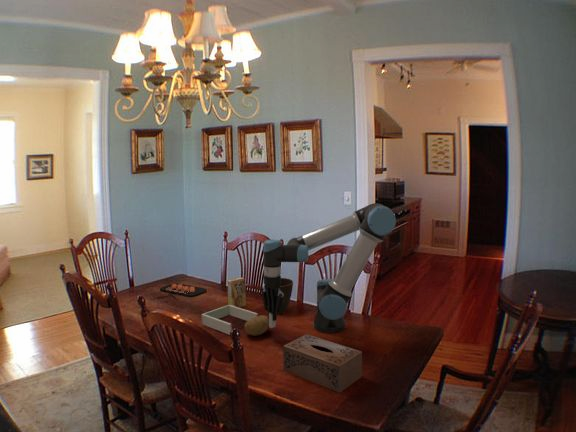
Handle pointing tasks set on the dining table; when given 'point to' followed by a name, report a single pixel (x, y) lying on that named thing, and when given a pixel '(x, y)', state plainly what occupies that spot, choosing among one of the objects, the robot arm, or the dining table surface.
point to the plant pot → (287, 289)
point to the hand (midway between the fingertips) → (272, 326)
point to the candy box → (236, 292)
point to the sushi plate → (192, 289)
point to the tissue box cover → (323, 362)
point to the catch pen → (213, 316)
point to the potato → (257, 325)
